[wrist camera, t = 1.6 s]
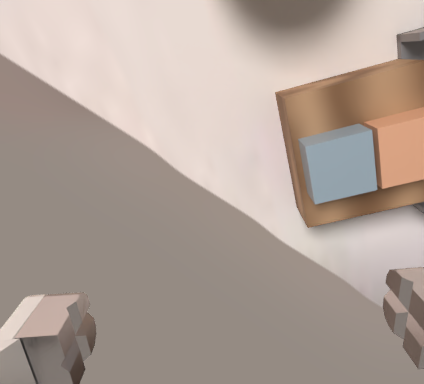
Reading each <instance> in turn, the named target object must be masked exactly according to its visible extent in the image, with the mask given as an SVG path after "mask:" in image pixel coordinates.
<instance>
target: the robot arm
mask: <svg viewBox="0 0 424 384" xmlns="http://www.w3.org/2000/svg"><path fill="white" fill-rule="evenodd" d="M386 284H387V285H388V287H389V288H390V290H389V292H388V293H387V294H386V295H385V296H384V301H383V310H384V315H385V319H386V321H387V323H388V325H389V327H390V328H391V330H392V332H393V333H394V334H396V335H398V336H399V337H401V338H403V339H404V342H403V348H404V349H405V351H406V352H407V354H408V355H409V356H410V358H411V359H412V361H413V362H414V363H415V365H416V366H417V368H418V369H424V267H418V268H406V269H394V270H389V272H388V274H387V277H386ZM89 307H90V302H89V299H88V295H87V294H85V293H84V292H80V293H63V294H48V295H45V294H44V295H31V296H28V297H26V298H24V300H23V301H22V302H21V303H20V305H19V306H18V307H17V309H16V310H15V311H14V313H13V314H12V315H11V316H10V318H9V319H8V320H7V321H6V323H5V324H4V325H3V327H2V328H1V329H0V384H80V381H81V379H82V376H83V374H84V371H85V366H84V363H83V361H84V360H86V359H87V358H88V357H89V356H90V355H91V353H92V351H93V348H94V346H95V339H96V325H95V321H94V318H93V317H92V316H91V315H90V314H89V313H87V311H88V309H89Z"/></svg>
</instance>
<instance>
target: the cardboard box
mask: <svg viewBox="0 0 424 384" xmlns="http://www.w3.org/2000/svg"><path fill="white" fill-rule="evenodd" d="M275 94H276V100H277V105H278V110H279V115H280V121H281V126H282V131H283V136H284V142H285V147H286V152H287V157H288V163H289V168H290V173H291V178H292V184H293V189H294V194H295V200H296V205H297V208H298V210H299V212H300V214H301V216H302V218H303V220H304V221H305V223H306V225H307V227H308V228H309V227H313V226H318V225H322V224H327V223H331V222H335V221H340V220H344V219H349V218H353V217H358V216H362V215H367V214H371V213H375V212H380V211H384V210H389V209H393V208H398V207H402V206H407V205H411V204H415V203H420V202H424V179H423V180H419V181H414V182H410V183H406V184H401V185H397V186H393V187H388V188H384V189H382V188H381V187H380V186H378V185H377V190H375V191H371V192H367V193H363V194H358V195H354V196H350V197H345V198H341V199H337V200H332V201H328V202H324V203H319V204H314V202H313V201H312V199H311V198H310V196H309V195H308V193H307V188H306V182H305V177H304V171H303V165H302V159H301V154H300V148H299V142H298V139H300V138H304V137H308V136H312V135H316V134H320V133H324V132H328V131H331V130H335V129H339V128H343V127H347V126H351V125H355V124H361V125H363V126H364V122H367V121H371V120H375V119H379V118H382V117H386V116H390V115H394V114H398V113H402V112H406V111H410V110H414V109H418V108H422V107H424V60H411V59H396V60H393V61H389V62H385V63H382V64H378V65H374V66H371V67H367V68H363V69H360V70H356V71H352V72H349V73H345V74H341V75H338V76H334V77H330V78H327V79H323V80H319V81H316V82H312V83H308V84H305V85H301V86H297V87H294V88H290V89H286V90H282V91H279V92H275Z"/></svg>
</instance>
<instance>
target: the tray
mask: <svg viewBox="0 0 424 384" xmlns="http://www.w3.org/2000/svg"><path fill="white" fill-rule="evenodd" d="M397 47H398V59H411V60H424V27H423V28H420V29H416V30H412V31H409V32H405V33H402V34H398V35H397ZM412 205H413V206H415V207H416V208H417V209H419V210H420V211H421V212H423V213H424V202H420V203H415V204H412Z"/></svg>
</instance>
